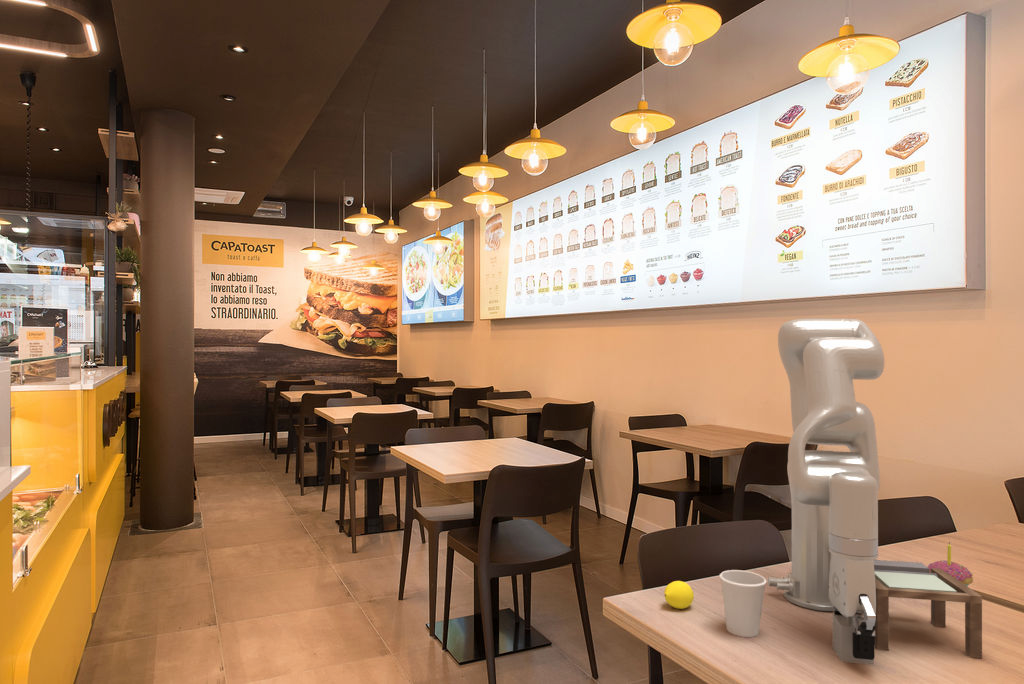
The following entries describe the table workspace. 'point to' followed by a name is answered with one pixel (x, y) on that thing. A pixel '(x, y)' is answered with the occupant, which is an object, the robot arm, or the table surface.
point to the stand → (933, 610)
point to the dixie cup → (742, 601)
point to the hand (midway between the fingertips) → (853, 645)
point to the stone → (845, 639)
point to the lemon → (678, 594)
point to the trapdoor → (908, 576)
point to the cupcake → (953, 569)
